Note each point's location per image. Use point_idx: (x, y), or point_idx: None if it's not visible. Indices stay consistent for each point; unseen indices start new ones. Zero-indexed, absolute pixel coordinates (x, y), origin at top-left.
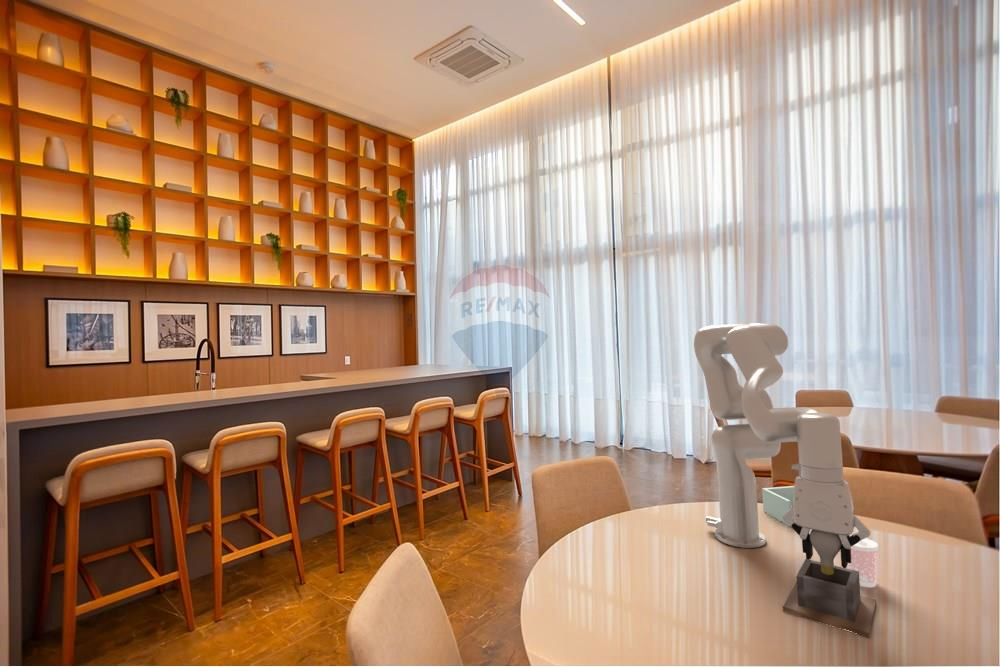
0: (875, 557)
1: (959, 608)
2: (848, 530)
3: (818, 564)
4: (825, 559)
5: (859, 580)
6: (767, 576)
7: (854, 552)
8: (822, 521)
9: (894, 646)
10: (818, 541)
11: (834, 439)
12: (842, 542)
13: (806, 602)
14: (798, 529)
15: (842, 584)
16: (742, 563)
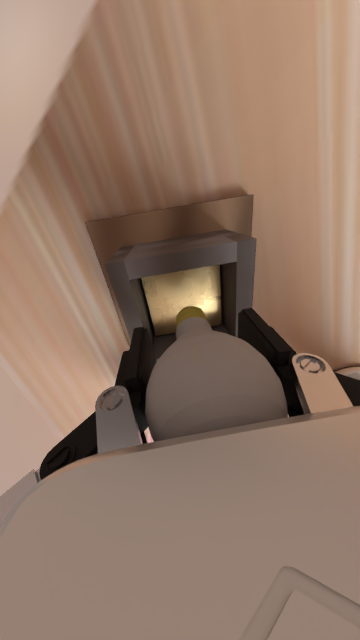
0: (148, 435)
1: (62, 403)
2: (5, 541)
3: None
4: (195, 328)
5: None
6: (290, 314)
7: None
8: (277, 577)
9: (47, 227)
10: (234, 355)
11: None
12: (128, 407)
13: (212, 233)
14: (353, 394)
15: (169, 335)
16: (333, 327)
